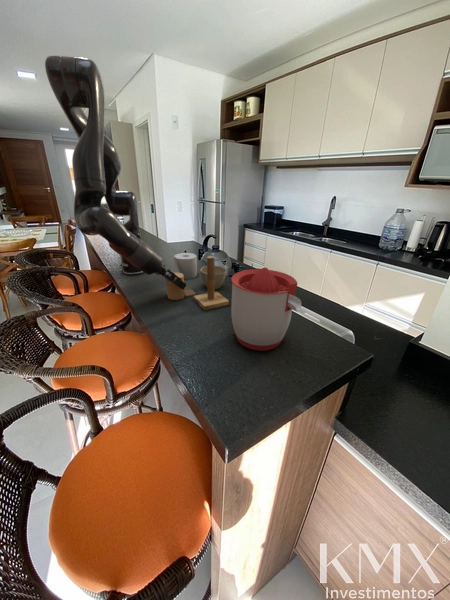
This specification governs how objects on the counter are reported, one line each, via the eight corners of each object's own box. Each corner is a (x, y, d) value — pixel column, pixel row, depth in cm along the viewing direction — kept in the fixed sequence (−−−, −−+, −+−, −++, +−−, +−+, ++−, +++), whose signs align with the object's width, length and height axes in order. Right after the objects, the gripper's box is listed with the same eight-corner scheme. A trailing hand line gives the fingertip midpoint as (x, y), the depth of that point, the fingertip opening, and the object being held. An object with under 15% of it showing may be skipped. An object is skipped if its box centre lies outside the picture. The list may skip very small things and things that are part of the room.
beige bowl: (196, 289, 95) (195, 271, 92) (207, 280, 103) (207, 264, 100) (220, 293, 92) (220, 275, 89) (229, 284, 100) (230, 267, 97)
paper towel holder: (193, 299, 87) (192, 255, 80) (216, 294, 91) (216, 252, 84) (204, 310, 80) (203, 262, 73) (228, 304, 84) (230, 259, 77)
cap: (170, 301, 86) (169, 279, 82) (165, 294, 90) (163, 273, 87) (197, 295, 90) (196, 274, 86) (190, 289, 95) (190, 269, 91)
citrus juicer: (281, 368, 56) (294, 287, 47) (217, 343, 64) (218, 269, 55) (302, 335, 68) (315, 266, 59) (246, 317, 76) (250, 254, 67)
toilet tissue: (170, 281, 101) (169, 261, 98) (178, 270, 113) (177, 252, 110) (192, 282, 101) (191, 262, 97) (198, 271, 113) (197, 253, 109)
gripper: (160, 252, 72) (195, 280, 83) (141, 242, 81) (174, 269, 93) (145, 273, 71) (182, 298, 82) (127, 261, 81) (162, 285, 92)
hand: (178, 283), depth 88 cm, fingers open, 8 cm apart
